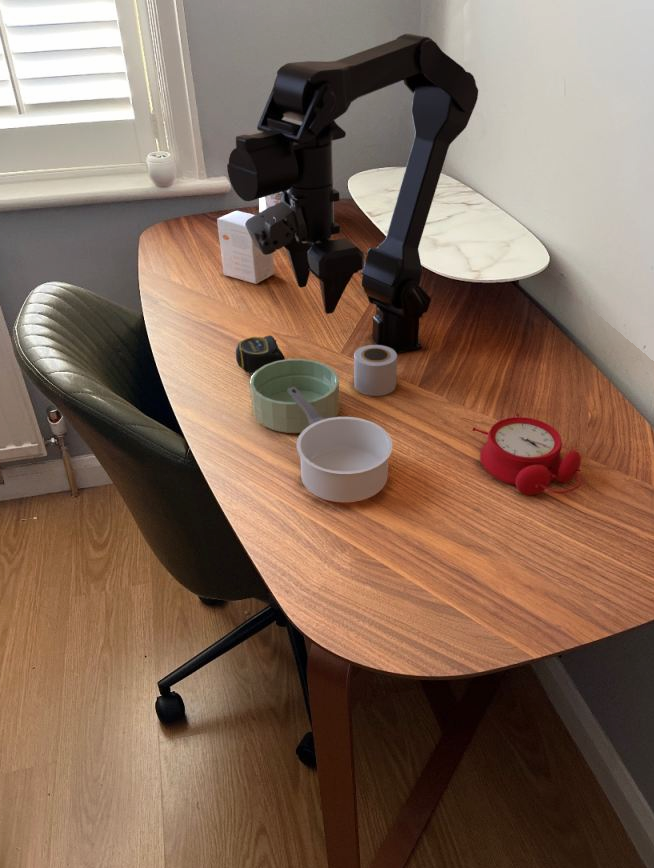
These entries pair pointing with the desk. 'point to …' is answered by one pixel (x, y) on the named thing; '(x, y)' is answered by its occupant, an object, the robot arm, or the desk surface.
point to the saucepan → (341, 455)
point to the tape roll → (375, 370)
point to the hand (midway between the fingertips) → (315, 299)
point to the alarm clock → (528, 455)
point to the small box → (242, 250)
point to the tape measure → (257, 353)
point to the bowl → (276, 402)
